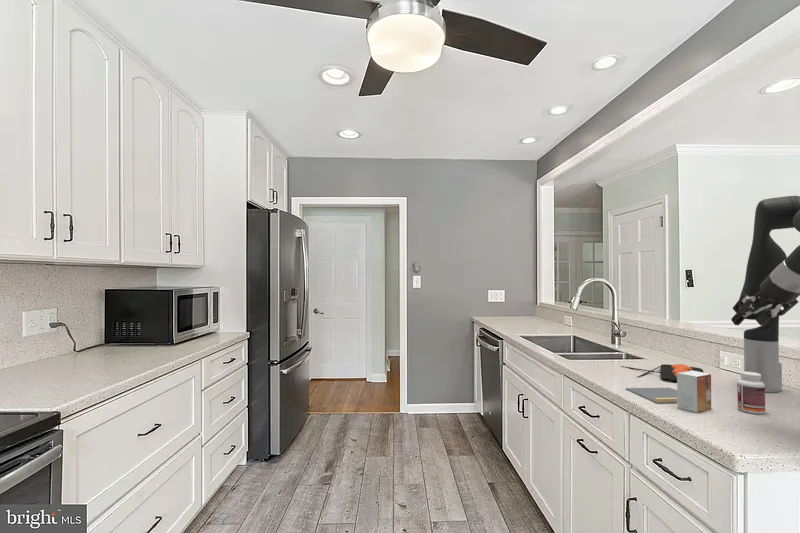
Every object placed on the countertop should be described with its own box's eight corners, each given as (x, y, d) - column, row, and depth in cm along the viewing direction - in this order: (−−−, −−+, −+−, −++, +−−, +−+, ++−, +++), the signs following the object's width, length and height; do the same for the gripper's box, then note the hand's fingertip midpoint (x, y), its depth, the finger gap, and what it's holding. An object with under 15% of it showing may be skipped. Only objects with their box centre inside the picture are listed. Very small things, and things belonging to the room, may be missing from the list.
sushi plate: (709, 388, 147) (709, 377, 147) (614, 377, 163) (614, 367, 163) (702, 372, 172) (701, 363, 172) (620, 363, 188) (620, 355, 188)
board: (669, 388, 145) (669, 384, 145) (706, 402, 129) (706, 398, 129) (625, 389, 144) (625, 385, 144) (657, 403, 128) (657, 399, 128)
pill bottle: (771, 413, 119) (770, 375, 119) (754, 415, 117) (753, 376, 118) (748, 407, 125) (748, 370, 125) (732, 408, 124) (731, 371, 124)
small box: (697, 413, 119) (696, 376, 119) (676, 407, 124) (676, 372, 124) (712, 409, 123) (711, 373, 123) (691, 404, 128) (691, 369, 128)
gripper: (804, 270, 107) (762, 312, 118) (751, 270, 106) (714, 312, 117) (826, 292, 101) (780, 333, 113) (771, 291, 100) (730, 333, 112)
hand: (746, 322), depth 115 cm, fingers open, 6 cm apart
